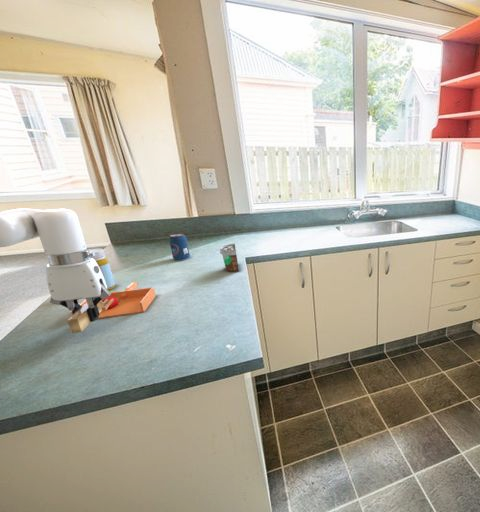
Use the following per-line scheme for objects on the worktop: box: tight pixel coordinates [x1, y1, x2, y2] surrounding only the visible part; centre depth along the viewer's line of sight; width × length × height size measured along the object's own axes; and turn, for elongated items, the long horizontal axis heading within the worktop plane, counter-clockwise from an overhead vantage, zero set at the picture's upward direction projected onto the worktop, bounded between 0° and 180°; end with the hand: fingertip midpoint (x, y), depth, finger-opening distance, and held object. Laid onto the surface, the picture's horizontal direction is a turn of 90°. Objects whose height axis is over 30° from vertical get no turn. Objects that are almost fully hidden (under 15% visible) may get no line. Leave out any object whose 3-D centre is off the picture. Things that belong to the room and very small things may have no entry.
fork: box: [66, 299, 114, 334], centre depth 84 cm, size 4×18×4 cm, turn 22°
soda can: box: [168, 233, 191, 262], centre depth 142 cm, size 7×7×12 cm
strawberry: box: [101, 297, 120, 309], centre depth 95 cm, size 3×3×4 cm
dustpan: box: [70, 281, 156, 320], centre depth 100 cm, size 22×17×3 cm
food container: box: [219, 243, 240, 273], centre depth 129 cm, size 12×6×10 cm, turn 27°
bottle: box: [87, 248, 116, 292], centre depth 107 cm, size 7×7×15 cm
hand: (88, 319), depth 82 cm, fingers closed on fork, 2 cm apart
